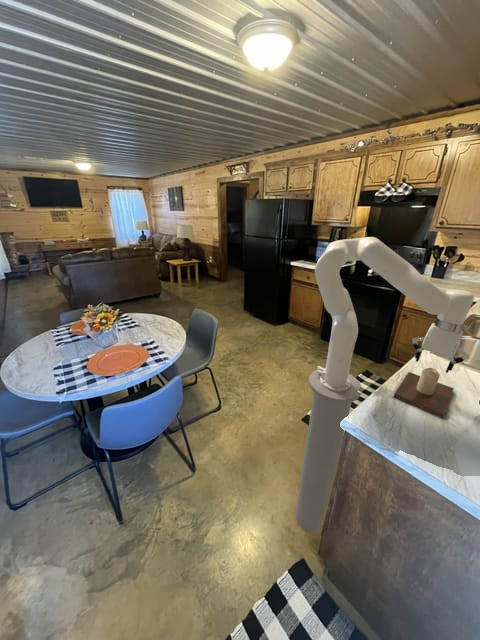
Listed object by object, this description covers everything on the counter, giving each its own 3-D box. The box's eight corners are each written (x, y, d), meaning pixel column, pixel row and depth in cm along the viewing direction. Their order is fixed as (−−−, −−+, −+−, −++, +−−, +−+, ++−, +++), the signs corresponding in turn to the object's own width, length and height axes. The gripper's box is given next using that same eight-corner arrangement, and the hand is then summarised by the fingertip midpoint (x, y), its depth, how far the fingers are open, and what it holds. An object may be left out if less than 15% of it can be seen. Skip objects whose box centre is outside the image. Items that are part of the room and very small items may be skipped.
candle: (430, 397, 100) (438, 375, 96) (414, 390, 103) (421, 369, 99) (434, 391, 103) (442, 369, 99) (418, 384, 107) (426, 363, 103)
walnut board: (393, 397, 103) (394, 393, 102) (407, 375, 116) (408, 371, 115) (442, 418, 92) (444, 414, 92) (452, 391, 105) (453, 388, 105)
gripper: (481, 329, 89) (461, 371, 96) (422, 314, 99) (408, 353, 107) (478, 337, 84) (458, 380, 91) (417, 320, 94) (403, 360, 102)
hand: (431, 365), depth 99 cm, fingers open, 9 cm apart
